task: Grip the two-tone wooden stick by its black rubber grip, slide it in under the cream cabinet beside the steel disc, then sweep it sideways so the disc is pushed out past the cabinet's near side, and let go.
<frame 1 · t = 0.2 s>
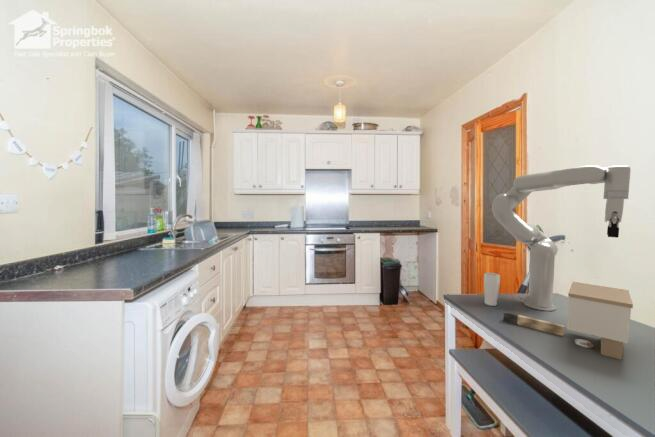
hand: (612, 236, 127), 37 cm above the table, tool pointing down, fingers open, 9 cm apart
steel disc: (583, 345, 107), on the table
two-tone wooden stick: (532, 327, 121), on the table
cabinet: (595, 344, 107), on the table
drinking glass: (490, 304, 147), on the table
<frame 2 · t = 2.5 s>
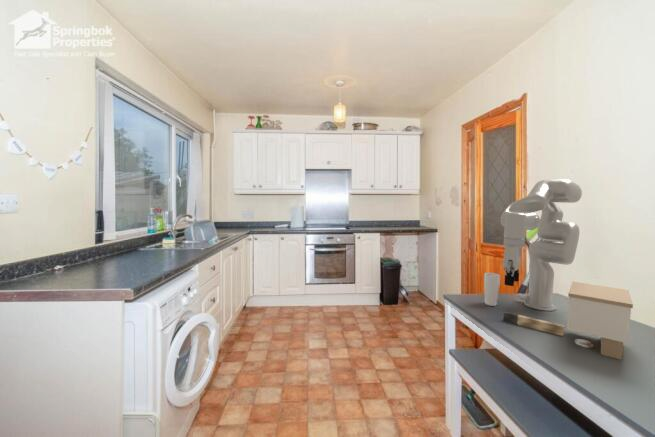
hand: (511, 283, 125), 16 cm above the table, tool pointing down, fingers open, 9 cm apart
nothing on the table moved.
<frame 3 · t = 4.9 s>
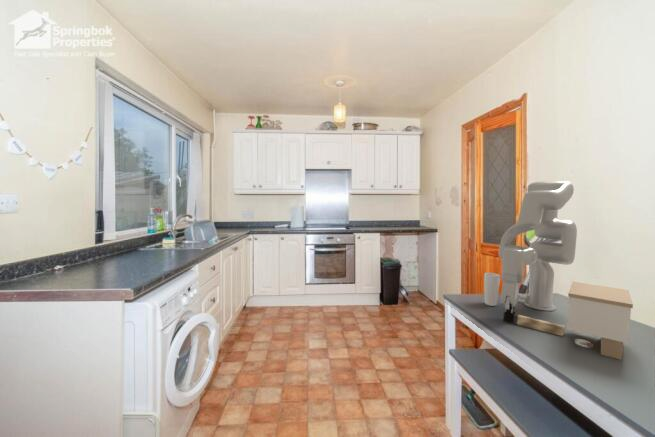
hand: (509, 320, 126), 1 cm above the table, tool pointing down, fingers closed on two-tone wooden stick, 1 cm apart
two-tone wooden stick: (532, 327, 121), on the table, touching gripper
everything else where it was.
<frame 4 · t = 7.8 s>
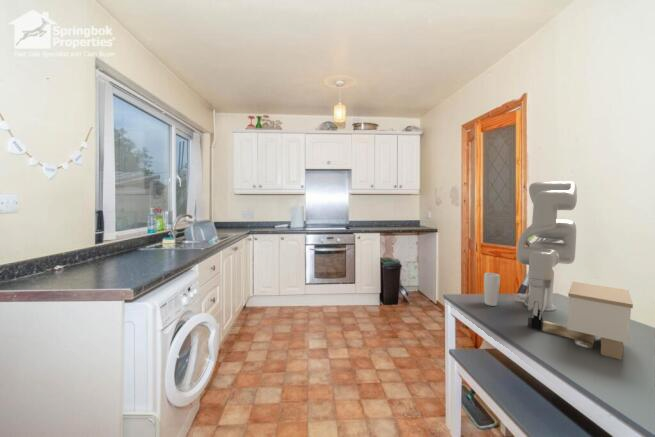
hand: (536, 327, 120), 1 cm above the table, tool pointing down, fingers closed on two-tone wooden stick, 1 cm apart
two-tone wooden stick: (558, 334, 115), on the table, touching gripper
everything else where it was.
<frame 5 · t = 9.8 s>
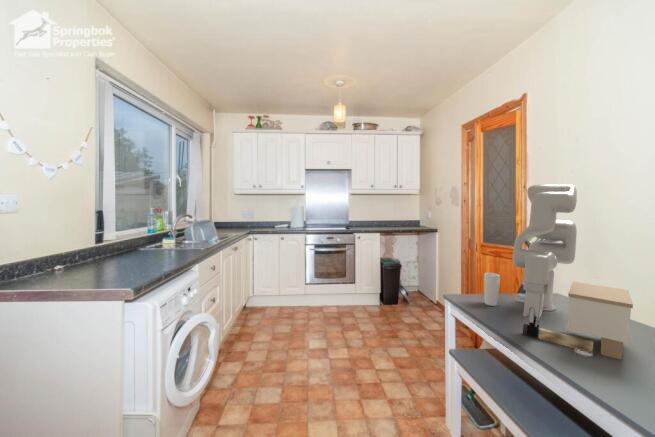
hand: (532, 334, 113), 1 cm above the table, tool pointing down, fingers closed on two-tone wooden stick, 1 cm apart
steel disc: (583, 353, 100), on the table
two-tone wooden stick: (555, 342, 108), on the table, touching gripper
everything else where it was.
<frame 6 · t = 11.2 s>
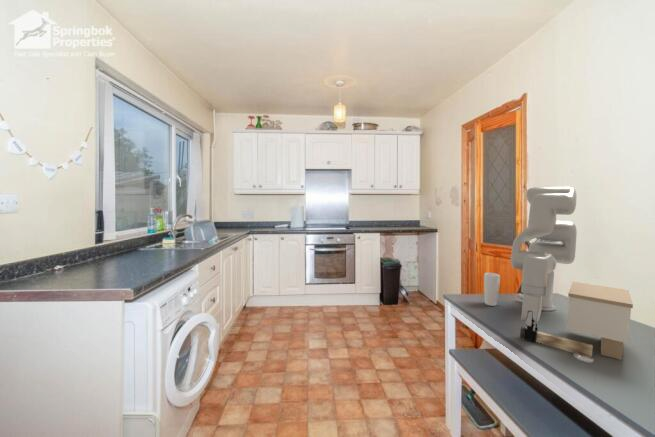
hand: (530, 338, 110), 1 cm above the table, tool pointing down, fingers open, 3 cm apart
steel disc: (583, 359, 97), on the table
two-tone wooden stick: (554, 346, 105), on the table
everything else where it was.
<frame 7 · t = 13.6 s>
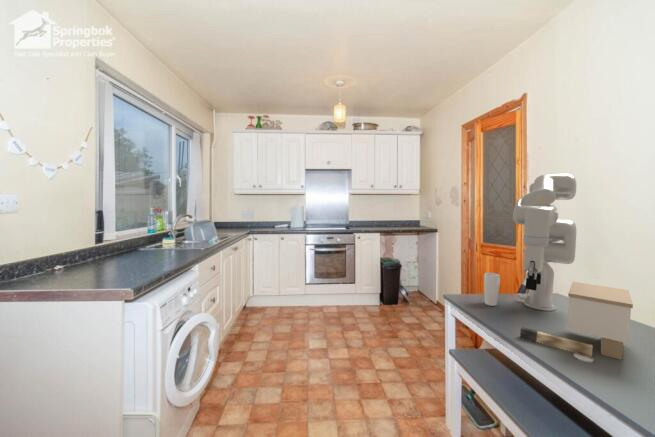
hand: (533, 286, 112), 19 cm above the table, tool pointing down, fingers open, 9 cm apart
nothing on the table moved.
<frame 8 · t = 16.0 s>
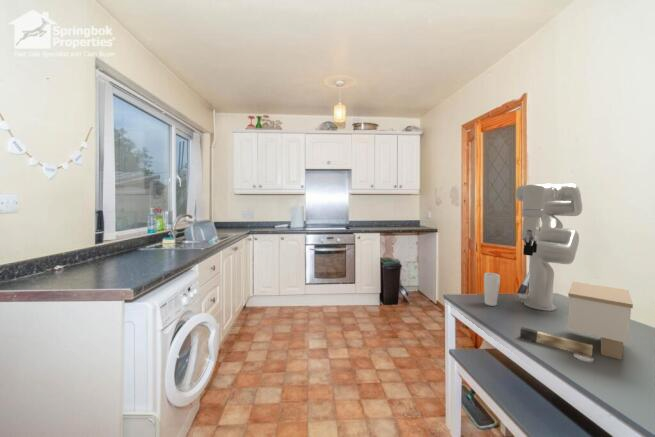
hand: (530, 253, 128), 28 cm above the table, tool pointing down, fingers open, 9 cm apart
nothing on the table moved.
at the end: steel disc inside the target area (4.0 cm from its centre), on the table; the gripper is holding nothing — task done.
